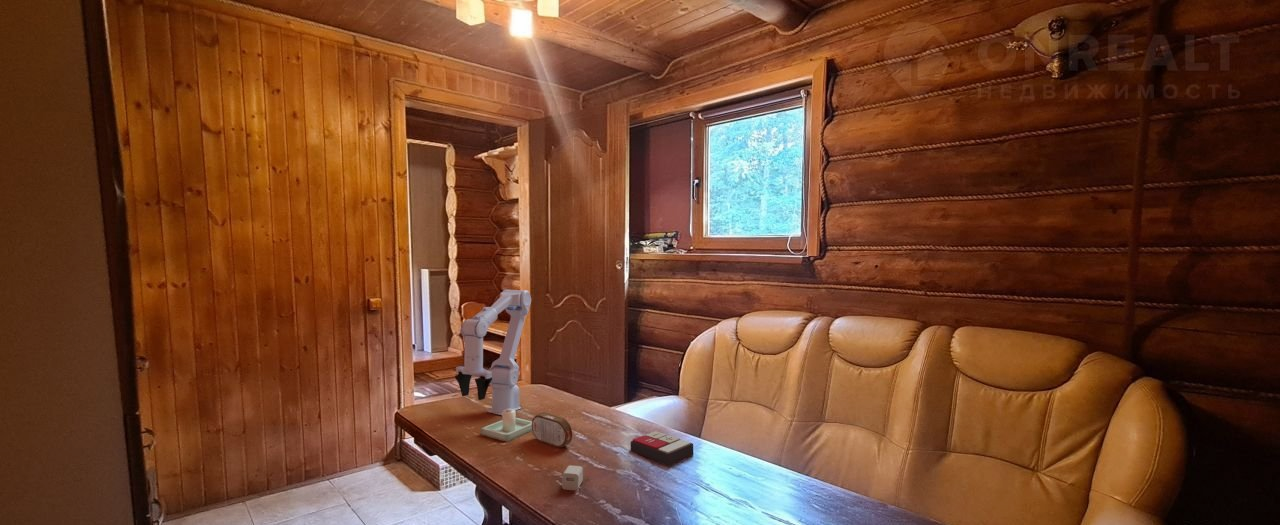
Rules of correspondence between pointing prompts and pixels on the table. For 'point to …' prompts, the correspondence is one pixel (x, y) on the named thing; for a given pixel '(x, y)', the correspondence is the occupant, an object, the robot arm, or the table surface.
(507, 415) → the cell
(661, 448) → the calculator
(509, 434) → the trough tray
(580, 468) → the usb wall charger
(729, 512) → the table surface
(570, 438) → the tin
